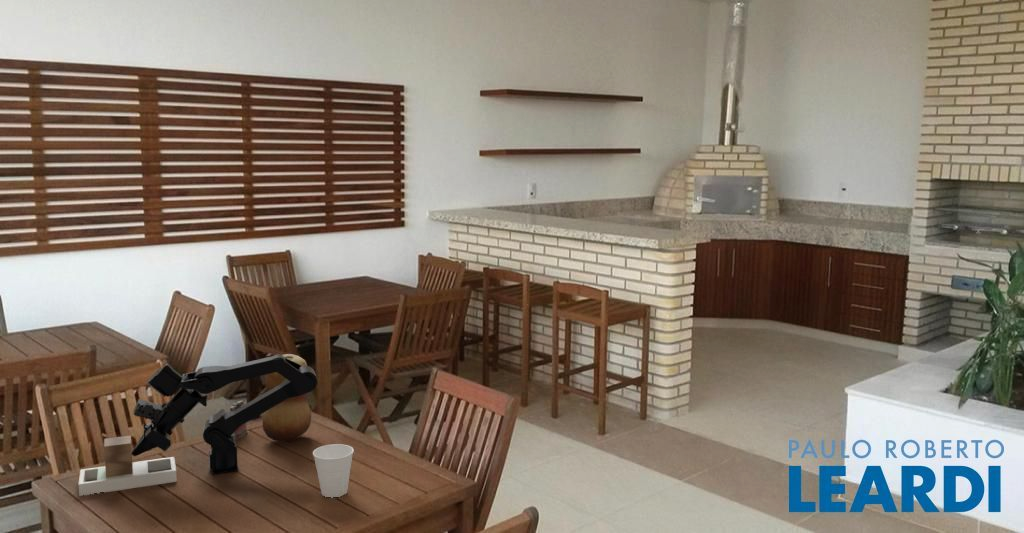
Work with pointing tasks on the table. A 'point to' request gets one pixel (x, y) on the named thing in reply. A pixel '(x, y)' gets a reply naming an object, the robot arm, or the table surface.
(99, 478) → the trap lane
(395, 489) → the table surface
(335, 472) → the cup
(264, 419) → the butternut squash
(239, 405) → the lighter
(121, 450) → the walnut block
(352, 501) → the table surface
